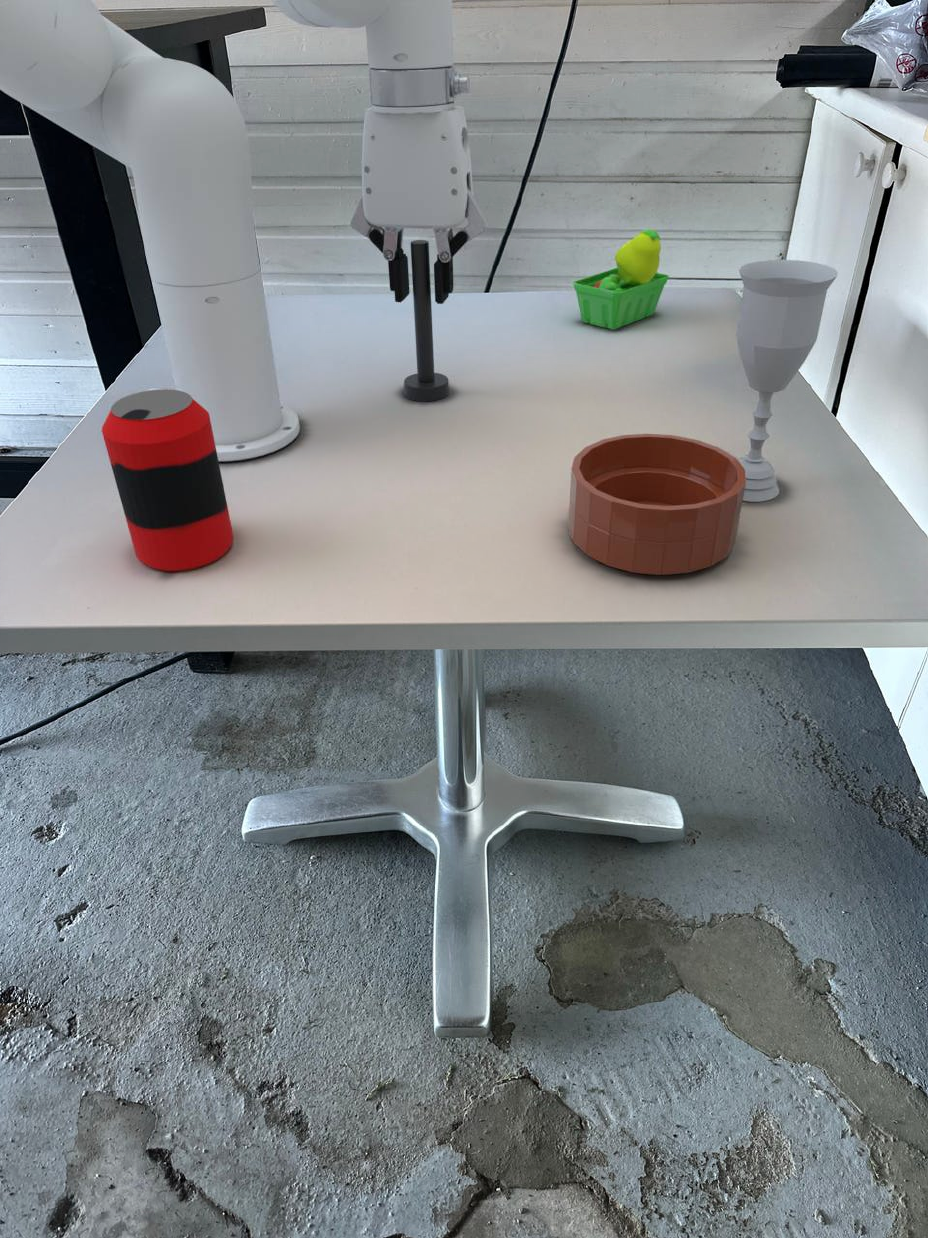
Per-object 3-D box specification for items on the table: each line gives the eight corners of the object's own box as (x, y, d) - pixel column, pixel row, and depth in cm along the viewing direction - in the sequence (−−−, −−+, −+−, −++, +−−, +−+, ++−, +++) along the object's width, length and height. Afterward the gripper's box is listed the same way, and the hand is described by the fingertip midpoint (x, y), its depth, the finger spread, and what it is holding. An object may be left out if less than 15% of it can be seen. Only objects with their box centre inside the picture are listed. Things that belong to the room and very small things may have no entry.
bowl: (559, 572, 67) (562, 501, 63) (577, 494, 77) (581, 428, 73) (735, 589, 64) (749, 516, 61) (730, 506, 74) (742, 439, 71)
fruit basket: (620, 303, 122) (627, 214, 115) (675, 315, 117) (686, 223, 110) (567, 322, 115) (572, 229, 109) (624, 337, 110) (632, 240, 104)
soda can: (117, 567, 69) (74, 420, 62) (166, 520, 75) (132, 381, 68) (207, 578, 67) (174, 428, 60) (249, 529, 73) (223, 388, 66)
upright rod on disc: (399, 400, 95) (389, 246, 86) (411, 383, 99) (402, 235, 90) (443, 402, 94) (437, 248, 85) (453, 386, 98) (448, 236, 89)
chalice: (740, 514, 73) (781, 288, 63) (690, 481, 78) (719, 267, 68) (809, 494, 76) (859, 275, 65) (756, 464, 81) (794, 255, 70)
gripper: (510, 86, 82) (508, 292, 92) (338, 87, 85) (355, 286, 95) (495, 94, 76) (495, 313, 86) (310, 95, 79) (333, 306, 89)
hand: (422, 297), depth 91 cm, fingers open, 3 cm apart
